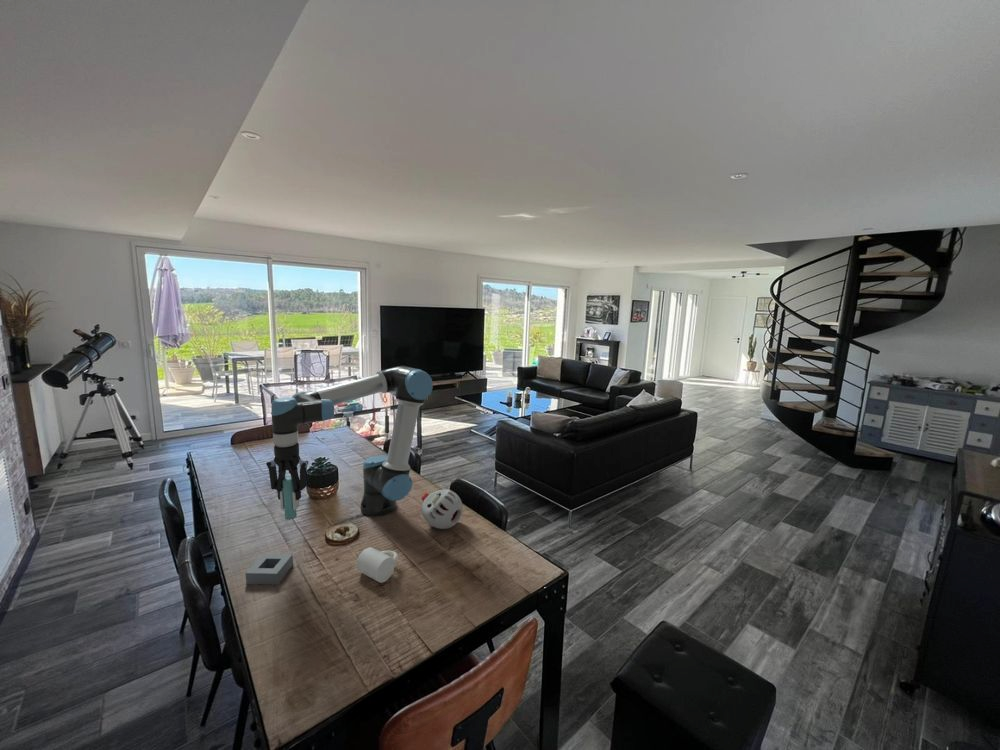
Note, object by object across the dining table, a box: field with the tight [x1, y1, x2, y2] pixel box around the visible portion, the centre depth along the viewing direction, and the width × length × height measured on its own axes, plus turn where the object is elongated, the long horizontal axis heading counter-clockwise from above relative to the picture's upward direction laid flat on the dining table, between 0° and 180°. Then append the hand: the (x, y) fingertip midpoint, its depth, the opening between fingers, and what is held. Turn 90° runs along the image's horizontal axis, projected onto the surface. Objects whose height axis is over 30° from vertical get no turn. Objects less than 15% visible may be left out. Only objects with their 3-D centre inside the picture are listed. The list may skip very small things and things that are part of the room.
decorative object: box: [421, 489, 464, 530], centre depth 165 cm, size 15×19×15 cm
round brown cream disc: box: [324, 522, 360, 546], centre depth 156 cm, size 15×15×4 cm
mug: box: [356, 547, 399, 584], centre depth 136 cm, size 12×10×8 cm
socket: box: [245, 553, 294, 586], centre depth 133 cm, size 10×10×4 cm
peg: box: [283, 476, 297, 521], centre depth 139 cm, size 4×4×14 cm
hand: (290, 507), depth 139 cm, fingers closed on peg, 3 cm apart
